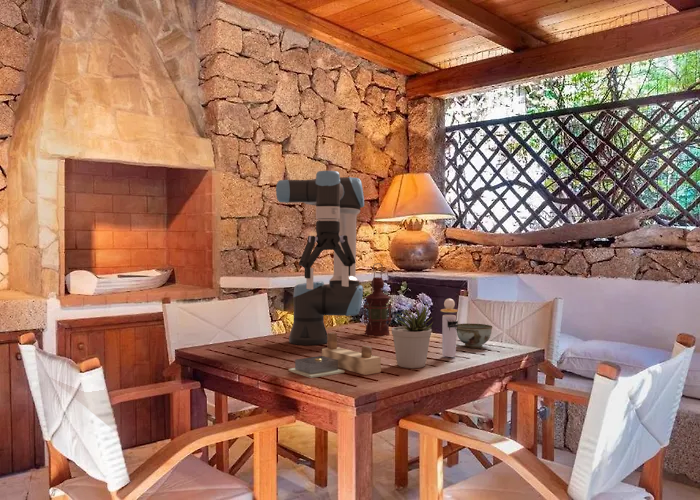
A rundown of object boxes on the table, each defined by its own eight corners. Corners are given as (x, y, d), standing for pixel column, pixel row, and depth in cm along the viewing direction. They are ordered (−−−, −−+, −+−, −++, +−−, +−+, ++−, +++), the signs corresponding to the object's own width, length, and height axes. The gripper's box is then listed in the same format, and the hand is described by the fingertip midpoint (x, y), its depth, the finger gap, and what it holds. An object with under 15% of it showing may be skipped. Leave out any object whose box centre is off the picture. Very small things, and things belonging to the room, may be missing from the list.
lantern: (382, 337, 248) (382, 264, 248) (357, 334, 255) (357, 263, 255) (396, 333, 259) (397, 263, 258) (372, 331, 265) (372, 262, 265)
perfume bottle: (437, 356, 207) (437, 298, 206) (450, 355, 209) (451, 297, 209) (447, 359, 202) (447, 299, 201) (461, 358, 204) (461, 298, 204)
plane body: (321, 362, 195) (321, 333, 195) (336, 360, 199) (336, 331, 199) (365, 374, 178) (365, 342, 178) (380, 372, 182) (380, 340, 181)
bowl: (477, 351, 217) (477, 329, 217) (447, 346, 227) (448, 325, 227) (499, 347, 226) (499, 325, 226) (470, 342, 236) (470, 322, 236)
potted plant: (405, 372, 182) (405, 305, 182) (384, 363, 195) (384, 301, 194) (441, 368, 187) (441, 303, 187) (418, 360, 200) (419, 299, 199)
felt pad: (288, 370, 183) (288, 368, 183) (321, 366, 190) (321, 364, 190) (311, 378, 173) (311, 375, 173) (344, 372, 181) (344, 370, 181)
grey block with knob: (295, 369, 182) (295, 358, 182) (322, 365, 188) (322, 354, 188) (310, 374, 176) (310, 362, 176) (337, 369, 182) (337, 358, 182)
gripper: (300, 220, 180) (301, 291, 181) (366, 220, 195) (366, 286, 196) (287, 220, 186) (287, 289, 187) (352, 220, 201) (352, 284, 202)
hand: (327, 287), depth 192 cm, fingers open, 13 cm apart
